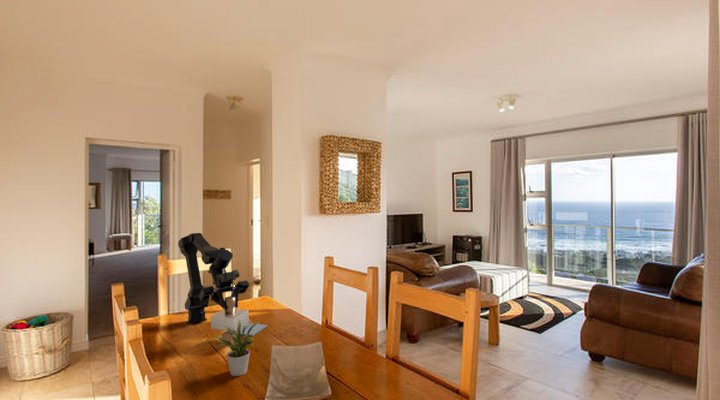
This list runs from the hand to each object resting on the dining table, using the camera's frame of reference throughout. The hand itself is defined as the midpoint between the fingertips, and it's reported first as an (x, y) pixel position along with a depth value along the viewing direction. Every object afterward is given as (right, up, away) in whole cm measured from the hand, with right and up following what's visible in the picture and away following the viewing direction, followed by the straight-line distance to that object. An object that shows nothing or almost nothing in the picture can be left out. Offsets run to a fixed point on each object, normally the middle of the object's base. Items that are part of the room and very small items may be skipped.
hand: (231, 308), depth 146 cm
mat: (+2, -13, +14) cm, 20 cm away
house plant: (+11, -14, -23) cm, 29 cm away
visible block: (-1, -14, +1) cm, 14 cm away
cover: (-1, -7, +1) cm, 7 cm away
